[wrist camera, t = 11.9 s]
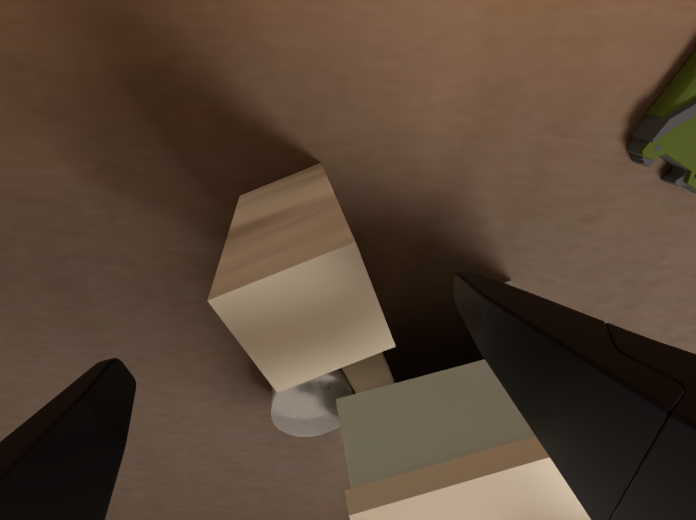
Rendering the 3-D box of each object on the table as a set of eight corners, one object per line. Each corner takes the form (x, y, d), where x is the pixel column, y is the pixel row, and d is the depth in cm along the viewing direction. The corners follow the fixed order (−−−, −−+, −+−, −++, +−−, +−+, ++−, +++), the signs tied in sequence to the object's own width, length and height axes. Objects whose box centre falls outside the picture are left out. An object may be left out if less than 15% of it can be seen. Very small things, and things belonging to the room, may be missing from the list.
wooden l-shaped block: (406, 380, 24) (457, 506, 17) (354, 400, 24) (384, 534, 17) (321, 162, 15) (355, 241, 8) (239, 195, 15) (207, 301, 8)
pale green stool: (502, 384, 26) (608, 535, 18) (348, 427, 25) (383, 605, 17) (515, 277, 21) (675, 420, 12) (319, 326, 20) (348, 515, 11)
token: (354, 390, 24) (361, 422, 21) (285, 410, 23) (286, 445, 21) (337, 340, 21) (344, 371, 19) (260, 363, 21) (258, 397, 19)
